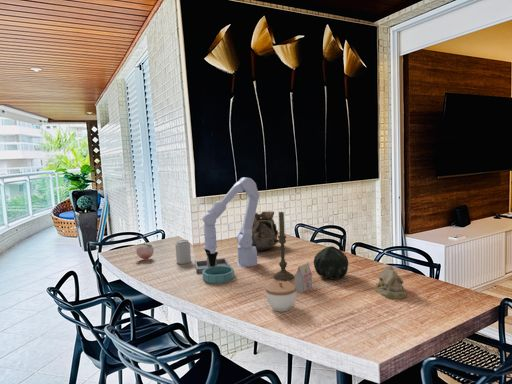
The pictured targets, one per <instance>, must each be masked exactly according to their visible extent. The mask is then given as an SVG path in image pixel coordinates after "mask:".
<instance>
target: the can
mask: <svg viewBox="0 0 512 384" xmlns="http://www.w3.org/2000/svg"><path fill="white" fill-rule="evenodd" d="M175 258H176V259H175V260H176V263H177V264H178V265H185V264H190V263H191V262H192V256H191V243H190V242H189V240H188V239H180V240H176V244H175Z"/></svg>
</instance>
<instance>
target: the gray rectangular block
mask: <svg viewBox="0 0 512 384" xmlns="http://www.w3.org/2000/svg"><path fill="white" fill-rule="evenodd" d="M205 257H206V259H205V260H207V268H208V267H211V266H210V263H209V259H208V256H207V254H206V255H205ZM217 259H218V258H217V257H216V261H215V266H217ZM212 267H213V266H212Z"/></svg>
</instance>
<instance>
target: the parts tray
mask: <svg viewBox="0 0 512 384" xmlns="http://www.w3.org/2000/svg"><path fill="white" fill-rule="evenodd" d="M217 266H229V267H231V265H230V263H229V262H228V260H227V259H226V257H224V258H217ZM194 267H195V271H196V274H202V271H203V270H204V269H206V268H207V259H205V260H195V261H194ZM208 268H209V267H208Z"/></svg>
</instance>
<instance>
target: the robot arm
mask: <svg viewBox="0 0 512 384" xmlns="http://www.w3.org/2000/svg"><path fill="white" fill-rule="evenodd" d="M243 192H244V193H245V194H246V195H247V197H248V198H247V204H246V208H245V213H244V217H243V221H242V226H241V228H240V229H239V230H240V231H239V233H237V236H236V242H237V243H238V245H237V260H238V261H237V262H236V264H237V266H238V267H239V268H241V267H251V266H258V250H256V247H255V246H253V247H252V246H251V245H252V226H253V222H254V217H255V213H257V207H258V203H259V200H260V199H259V198H260V194H259V190H258V186H257V183H256V182H255V181H254V180H253V179H252V178H251V177H247V176H246V177H244V176H243V177H240V179H238V181H237V182H235V183H234V184H233V186H232V187H231V188H230V189H229V191H228V192H227V193H226V194H225V196H223V198H222V200H217V201H215V202H214V203H213V206H212V207H210V209H207V211H206V212H207V213H205V214H204V215H203V217H202V222H203V227H204V228H203V237H204V246H202V249H203V250H204V251H205V254H206V255H207V256H208V259H209V263H210V266H211V267H212V266H215V261H216V258H217V256H218V255H219V252H218V251H216V250H217V248H218V245H217V228H216V223H217V219H219V217H220V216H221V215H222V214H223V213H224V212H225V211H226V209H227V205H228V203H230V202H231V201H232V199H233V198H235V196H236V195H237V194H240V193H243Z"/></svg>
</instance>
